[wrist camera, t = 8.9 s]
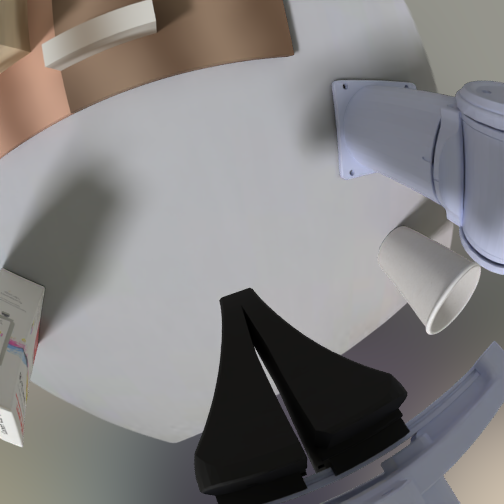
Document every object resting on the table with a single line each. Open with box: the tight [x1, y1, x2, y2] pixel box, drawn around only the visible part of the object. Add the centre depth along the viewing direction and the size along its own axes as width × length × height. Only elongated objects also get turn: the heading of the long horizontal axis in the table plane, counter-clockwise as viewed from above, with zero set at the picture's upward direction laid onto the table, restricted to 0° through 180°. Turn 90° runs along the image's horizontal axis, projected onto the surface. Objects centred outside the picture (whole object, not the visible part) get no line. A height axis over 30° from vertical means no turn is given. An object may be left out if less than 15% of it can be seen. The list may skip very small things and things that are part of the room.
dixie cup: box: [377, 226, 481, 334], centre depth 23 cm, size 8×8×10 cm
